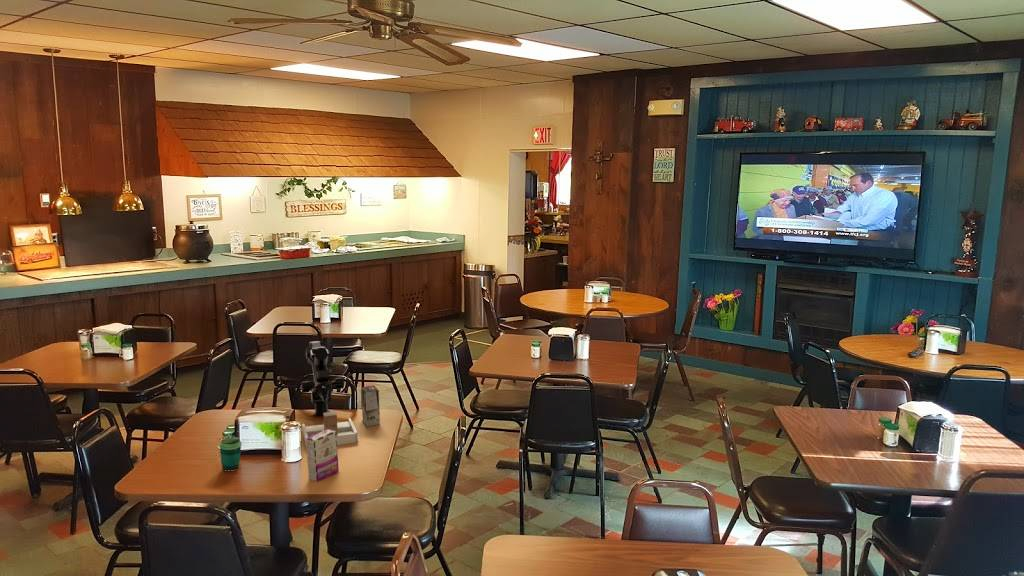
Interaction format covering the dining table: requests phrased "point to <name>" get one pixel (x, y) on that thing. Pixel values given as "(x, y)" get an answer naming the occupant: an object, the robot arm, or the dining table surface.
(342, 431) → the trap box
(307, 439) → the candy bar box
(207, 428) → the dining table surface
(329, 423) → the block
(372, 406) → the coffee box
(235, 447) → the cup
